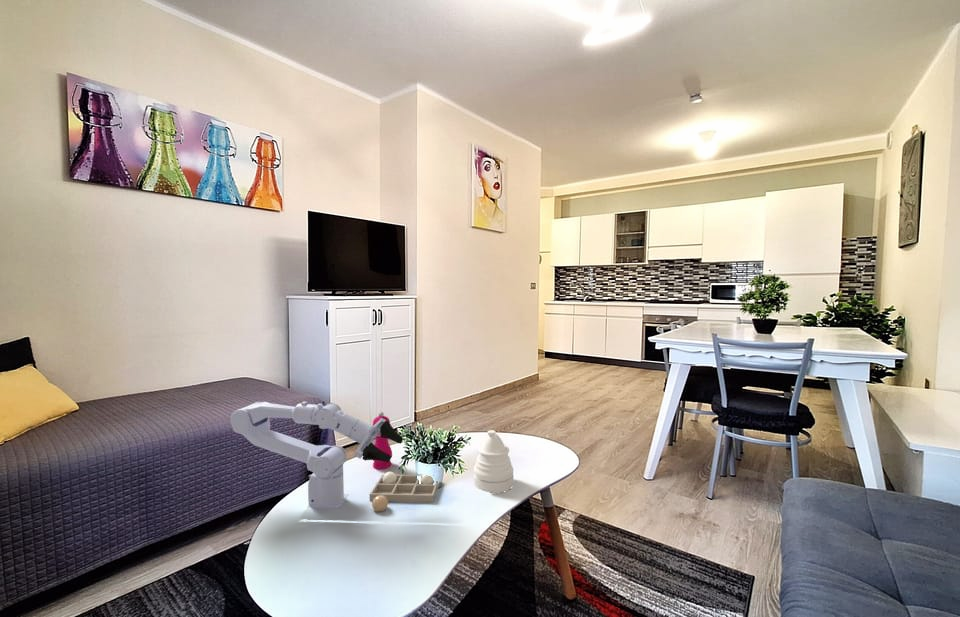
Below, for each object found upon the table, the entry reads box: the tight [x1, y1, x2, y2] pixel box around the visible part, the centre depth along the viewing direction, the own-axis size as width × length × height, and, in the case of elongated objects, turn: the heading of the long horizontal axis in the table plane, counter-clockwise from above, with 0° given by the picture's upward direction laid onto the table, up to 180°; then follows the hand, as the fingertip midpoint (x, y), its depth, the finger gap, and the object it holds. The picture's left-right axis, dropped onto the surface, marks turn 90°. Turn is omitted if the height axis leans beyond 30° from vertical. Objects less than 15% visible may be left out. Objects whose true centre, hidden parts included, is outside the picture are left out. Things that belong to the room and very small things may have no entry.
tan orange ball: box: [371, 495, 389, 513], centre depth 119 cm, size 4×4×4 cm
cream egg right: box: [421, 474, 434, 485], centre depth 132 cm, size 4×4×4 cm
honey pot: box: [473, 429, 514, 494], centre depth 135 cm, size 13×13×18 cm
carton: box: [369, 474, 439, 503], centre depth 130 cm, size 19×13×3 cm
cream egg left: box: [383, 471, 397, 484], centre depth 133 cm, size 4×4×4 cm
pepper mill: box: [372, 411, 393, 471], centre depth 148 cm, size 7×7×20 cm
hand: (396, 449), depth 120 cm, fingers open, 7 cm apart
